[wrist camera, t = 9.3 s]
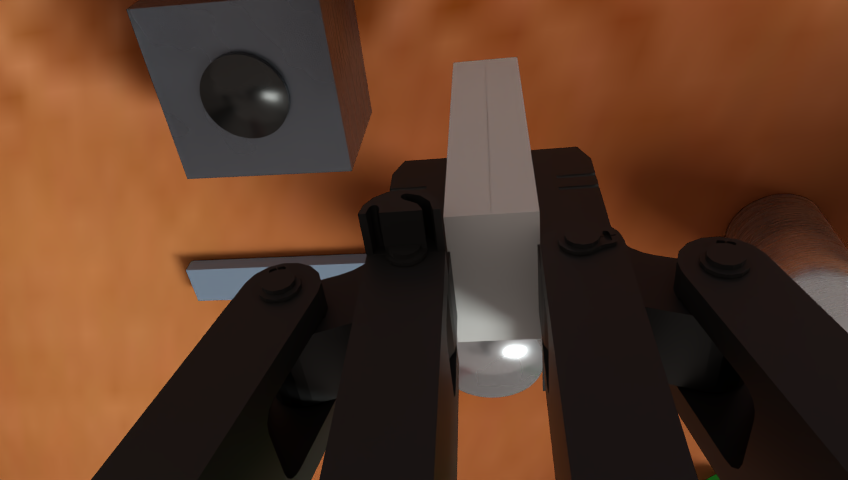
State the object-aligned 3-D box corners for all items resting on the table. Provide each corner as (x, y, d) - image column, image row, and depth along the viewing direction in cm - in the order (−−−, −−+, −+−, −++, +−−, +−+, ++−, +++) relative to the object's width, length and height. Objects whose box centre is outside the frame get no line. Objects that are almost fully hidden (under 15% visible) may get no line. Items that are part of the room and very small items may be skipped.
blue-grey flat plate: (203, 291, 28) (198, 300, 27) (-44, -319, 16) (-60, -321, 16) (442, 282, 26) (441, 292, 26) (356, -389, 15) (352, -392, 14)
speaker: (230, 119, 23) (185, 182, 20) (184, -33, 20) (122, 12, 17) (372, 110, 22) (350, 174, 19) (346, -48, 19) (315, -5, 16)
